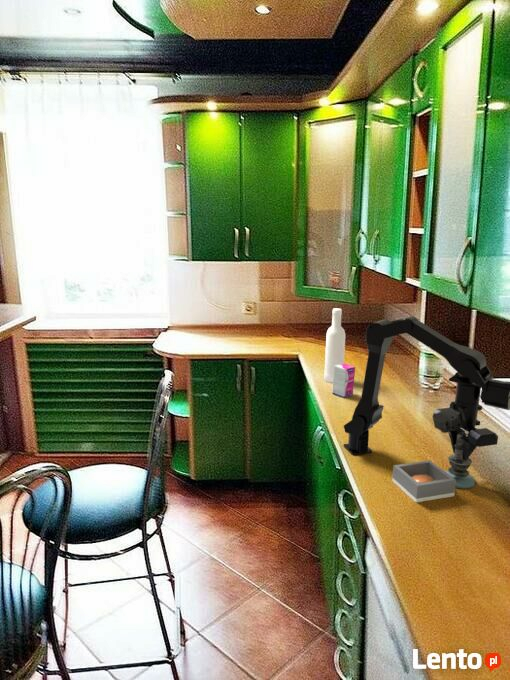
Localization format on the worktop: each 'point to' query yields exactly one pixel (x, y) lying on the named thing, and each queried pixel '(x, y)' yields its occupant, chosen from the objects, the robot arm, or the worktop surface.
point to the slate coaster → (463, 481)
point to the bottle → (334, 345)
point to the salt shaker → (459, 459)
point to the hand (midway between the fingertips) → (460, 456)
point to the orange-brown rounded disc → (422, 478)
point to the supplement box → (343, 380)
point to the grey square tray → (427, 490)
